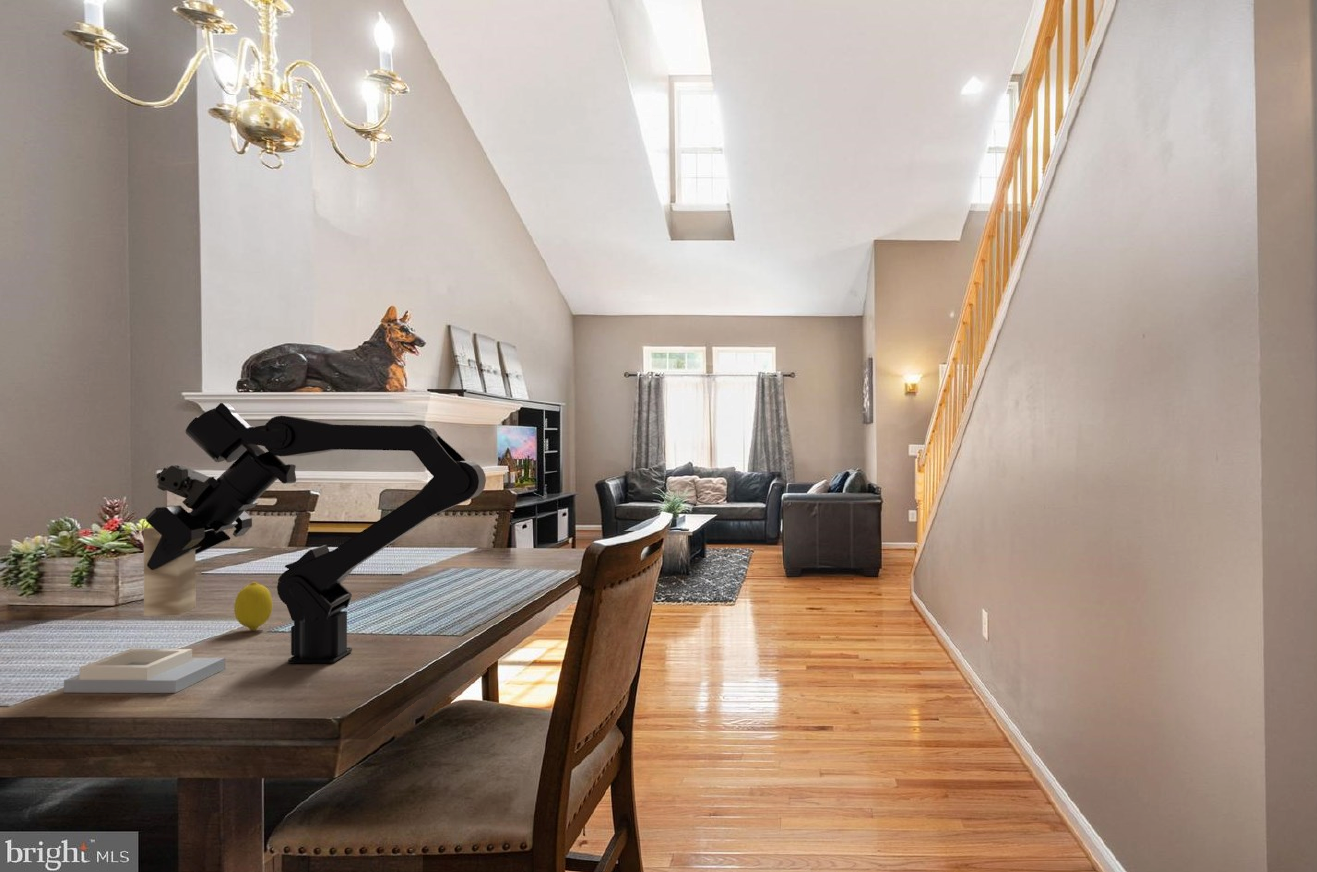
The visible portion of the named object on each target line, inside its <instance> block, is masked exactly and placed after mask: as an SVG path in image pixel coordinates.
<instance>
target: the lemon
mask: <svg viewBox="0 0 1317 872" xmlns="http://www.w3.org/2000/svg"><path fill="white" fill-rule="evenodd" d="M273 607H274V606H273V597H272V594H271V592H270V590H269V589H268V588H267V587H266V586H265V585H263V584H259V583H257V581H252V582H250V583H249V584H248V585H246V586H245V587H243V588H241V590H240V591H239V592H238V593H237V595H236V599H235V602H234V608H233V609H234V616H235V619H236V621H238V623H240V625H242V626H243V627H246V628H248V629H249V630H250V631H256V630H258V628H259V627H261V626H262V625H264V624H265V623H266V622H268V620H269V619H270V617H271V616H272V613H273Z"/></svg>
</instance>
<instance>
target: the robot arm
mask: <svg viewBox="0 0 1317 872" xmlns="http://www.w3.org/2000/svg"><path fill="white" fill-rule="evenodd" d="M185 434H186V436H188V438H190V440H192V441H193V442H194V443H195V444H196V445H197V446H198V447H199V448H200V449H201V451H203V452H204V453H206V455H208V456H209V457H210V458H211V460H213V461H214V462H215V463H220V462H224V461H225V462H226V463H232V462H233V463H232V464H231V465H230V466H229V467H228V468H227V469H226V470H225V471H224V472H223V473H221V475H219V476H208V475H206V474H203V473H201V472H198V471H196V470H194V469H191V468H189V467H186V466H182V465H178V464H177V465H176V464H173V465H168V466H166V467H163V469H162V470H161V472H158V473H157V474H156V478H157V483H158V484H157V485H156V488H157V489H159V490H161V491H163V492H165V491H167V492H169V493H172V494H173V495H177V496H178V497H181V498H184V500H183V501H182V502H181V503H182V504H183V505H185V507H187V509H191V512H188V511H187V509H185V508H184V507H183V506H181V505H166V506H165V505H164V506H158V507H157V506H156V507H155V508H154V509H153V510H152V511H151V512H150V513H148V515H147V516H146V517H145V521H146V522H147V523H148V524H149V526H151V527H153V528H154V529H155V530H156V531H158V532H159V533H160V534H161V535H162V536H161V538H160V540H159V542H158V544H157V546H156V548H155V550H154V552H153V554H152V556H151V558H150V559H149V561H148V563H147V566H148V567H149V568H150V569H151V570H155V569H157V568H159V567H161V566H163V565H165V564H167V563H169V562H171V561H173V560H176V559H178V558H180V557H182V556H184V555H186V554H188V553H190V552H192V551H194V550H195V556H197V555H198V554H200V553H202V552H205V551H207V550H210V549H212V548H214V547H216V546H219V545H221V544H223V543H226V542H228V541H230V540H231V537H230V536H229V535H228V534H227V533H226V530H232V529H233V528H235V530H233V533H232V535H233V536H234V537H235V538H237V537H241V536H244V535H245V534H246V533H247V532H248V531H249V530H250V529H251V528H252V527H253V518H252V517H251V515H250V514H248V512H246V511H247V510H249V509H252V508H253V509H254V508H255V507H256V506H257V505H258V504H259V502H258V499H259V498H260V497H261V496H262V494H263V493H265V492H266V491H267V490H268V489H269V488H270V487H271V486H272V485H273V484H274V483H275V482H276V481H277V480H278V481H279V482H280V483H282V484H285V485H286V484H295V483H296V482H297V475H296V469H297V466H296V464H289V463H288V464H286V463H285V462H283V460H282V459H281V458H279V457H303V456H310V455H315V454H317V455H318V454H322V453H327V452H333V451H340V450H345V451H346V450H347V451H348V450H349V451H351V450H355V451H400V452H401V451H404V452H405V451H407V452H408V451H410V452H412V453H413V454H414V455H416V457H417V458H418V459H419V461H420V462H421V463H422V465H423V466H424V467H425V468H426V470H427V471H428V472H429V474H431V475H432V476H433V477H432V478H430V480H429V481H428V482H426V484H425V485H424V486H423V487H422V488H421V489H420V491H419V492H417V494H415V495H414V496H413V497H412V498H410V499H409V500H408V501H406V502H405V503H403V504H401V505H400V506H398V507H397V508H395V509H394V510H393V511H392V510H391V512H389V513H388V514H386V515H385V516H383V517H382V518H380V519H379V520H377V521H376V522H374V523H372V524H371V525H369V526H368V527H366V528H365V529H363V530H362V531H360V532H359V533H357V534H356V535H354V536H353V537H351V538H350V539H349V540H346V542H344V543H342V544H341V545H339V546H338V547H336V548H334V549H333V550H330V549H329V547H328V545H327V544H324V545H321V546H317V547H315V548H311V549H309V550H308V551H306V553H304V554H303V555H302V556H300V558H299V559H297V560H295V561H293V562H290V563H288V564H285V565H284V568H285V569H287V570H285V571H284V572H283V573H282V574H281V575H280V576H279V577H278V579H277V586H276V590H277V595H278V597H279V599H280V601H282V603H284V604H285V605H286V607H287V610H288V613H289V616H290V619H291V620H292V621H293V625H291V627H290V655H291V657H289V658H288V659H287V663H289V664H332V663H335V662H336V661H338V660H339V659H341V658H344V656H346V655H348V654H349V653H351V652H352V651H353V648H352V647H348V611H343V610H344V609H347V608H349V605H350V602H351V600H352V597H353V596H352V593H351V592H350V591H349V590H348V589H347V588H346V587H345V586H344V585H343V584H341V583H342V582H344V580H346V578H347V577H348V576H349V575H350V574H351V573H352V571H354V569H356V568H357V567H358V566H360V565H361V564H363V563H364V562H366V561H367V560H369V559H371V557H373V556H375V555H376V554H378V553H379V552H381V551H382V550H384V549H385V548H387V547H388V546H389V545H391V544H392V543H394V542H396V541H397V540H398V539H400V538H402V537H403V536H405V535H406V534H407V533H410V532H411V531H413V530H414V529H415V528H417V527H418V526H420V525H422V524H423V523H424V522H426V521H427V520H429V519H431V518H433V516H435V515H438V514H440V513H441V512H444V511H447V510H448V509H449V510H450V509H451V508H454V507H456V506H458V505H460V504H463V503H465V502H467V501H469V500H472V499H474V498H476V497H478V496H480V494H482V492H483V491H484V489H485V487H486V482H487V479H486V478H487V477H486V473H485V471H484V469H483V467H481V466H480V464H478V463H476V462H474V461H470V460H466V459H465V458H464V457H463V456H462V455H461V454H460V453H459V452H458V451H457V450H456V449H455V448H453V446H451V445H450V444H449V443H448V442H447V441H445V440H444V439H443V437H442V436H440V435H439V434H438V432H437V431H436V430H435V428H433V427H432V426H431V425H426V424H413V425H380V424H379V425H370V424H369V425H368V424H367V425H366V424H363V425H362V424H336V423H331V422H327V421H326V422H325V421H321V420H317V419H313V418H307V417H306V418H305V417H299V416H290V415H277V416H273V417H271V418H270V420H268V421H267V422H266V423H265V424H264V425H258V426H252V425H250V424H249V423H248V422H247V421H246V420H245V419H244V418H242V416H241V415H239V414H238V412H237V410H236V409H235V408H234V407H233V406H232V405H231V404H230V403H226V402H225V403H224V402H219V404H218V405H216V407H214V408H211V409H209V410H207V411H205V412H204V413H202V414H201V415H199V416H196V417H194V419H192V420H191V421H190V422H189V424H188V425H187V426H186V429H185ZM261 447H264V449H266V450H267V451H264V450H263V449H262V448H261Z"/></svg>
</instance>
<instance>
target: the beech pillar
mask: <svg viewBox="0 0 1317 872" xmlns="http://www.w3.org/2000/svg"><path fill="white" fill-rule="evenodd" d="M161 536H162V535H161V534H160V533H159V532H158V531H156V530H155V529H154V528H153V527H152V526H151V527H146V528H143V617H150V616H151V617H152V616H153V617H154V616H158V617H159V616H176V615H177V616H178V615H179V616H180V615H181V614H183V613H187V612H189V611H191V610H194V609H196V607H197V605H196V604H197V601H196V600H197V599H196V598H197V597H196V595H197V594H196V592H197V590H196V585H197V584H196V580H197V579H196V576H197V575H196V555H195V550H194V551H192V552H190V553H188V554H186V555H184V556H182V557H180V558H178V559H176V560H173V561H171V562H169V563H167V564H165V565H163V566H161V567H159V568H157V569H155V570H151V569H150V568H149V567H148V566H147V563H148V561H149V559H150V558H151V556H152V554H153V552H154V550H155V548H156V546H157V544H158V542H159V540H160V538H161Z"/></svg>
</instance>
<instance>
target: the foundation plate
mask: <svg viewBox="0 0 1317 872" xmlns="http://www.w3.org/2000/svg"><path fill="white" fill-rule="evenodd" d="M224 670H226V657H193V649H192V648H129V649H126V650H124V651H121V652H118V653H116V654H112V655H110V656H107V657H105V658H102V659H99V660H96V661H93V662H91V663H90V662H89V663H88V664H85V665H82V666H80V667H79V674H77V675H75V676H72V677H69V678H66V679H64V680H63V693H86V694H87V693H88V694H90V693H96V694H97V693H98V694H99V693H103V694H104V693H106V694H107V693H113V694H115V693H116V694H118V693H124V694H127V693H130V694H133V693H137V694H139V693H140V694H143V693H144V694H146V693H147V694H149V693H150V694H155V693H156V694H170V693H171V694H172V693H173V694H176V693H178V692H180V691H182V690H184V689H187V688H189V687H191V686H192V685H195V684H197V683H199V682H201V681H203V680H205V679H208V678H209V677H211V676H213V675H216V674H217V673H219V672H222V671H224Z"/></svg>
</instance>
